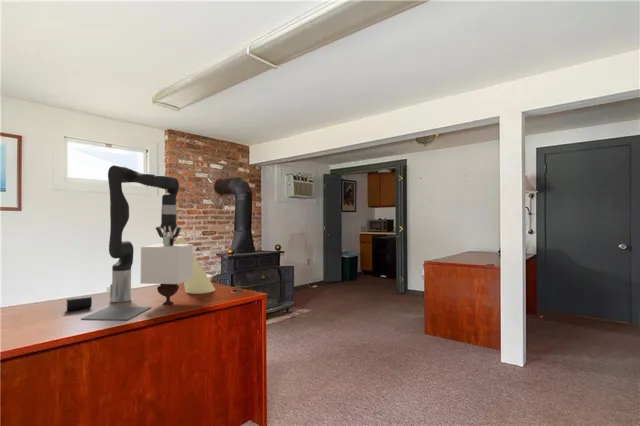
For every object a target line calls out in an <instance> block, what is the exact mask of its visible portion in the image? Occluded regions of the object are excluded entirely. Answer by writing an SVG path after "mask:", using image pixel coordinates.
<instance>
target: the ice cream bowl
mask: <svg viewBox="0 0 640 426" xmlns="http://www.w3.org/2000/svg"><path fill="white" fill-rule="evenodd" d="M179 288H180V285H179V284H159V286H157V292H158V293H159V294H160V295H161V296H163V297H165V298H166V300H165V301H164V302H162V306H172V305H174V302H173V301H171V297H172V296H174V295H175V294H176V293H177V292H178V291H179Z"/></svg>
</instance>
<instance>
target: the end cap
mask: <svg viewBox="0 0 640 426" xmlns="http://www.w3.org/2000/svg"><path fill="white" fill-rule="evenodd" d="M92 301H93V300H92V296H91V295H82V296H78V297H68V298H67V299H66V311H67V312H68V313H71V312H77V311H85V310H90V309H91V308H92V303H93V302H92Z"/></svg>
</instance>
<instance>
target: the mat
mask: <svg viewBox="0 0 640 426" xmlns="http://www.w3.org/2000/svg"><path fill="white" fill-rule="evenodd" d="M151 308H152V306H115V305H113V306H112V305H110V306H107V307H105V308H103V309H99V310H98V311H96V312H95V311H94V312H93V313H91V314H89V315H86V316H84V317H81V318H80V321H123V322H125V321H129V320H131V319H133V318H135V317H137V316H139V315H141V314H143V313H145V312H146V311H148V310H150V309H151Z"/></svg>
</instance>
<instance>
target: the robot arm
mask: <svg viewBox="0 0 640 426" xmlns="http://www.w3.org/2000/svg"><path fill="white" fill-rule="evenodd" d="M107 170H108V172H107V179H108V187H109V205H110V206H109V207H110V208H109V211H110V212H109V215H110V216H109V219H110V226H109V227H110V230H109V232H110V233H109V243H108V252H109V256H110V257H111V258H112V259H118V261H117V262H115V263H114V264H112V266H111V267H112V269H111V274H112V275H111V278H112V279H111V283H110V287H109V289H110V290H109V291H110V293H109V294H110V295H109V299H110V300H109V301H110V302H111V303H125V302H129V301H131V299H132V265H133V263H134V246H133V243H132V242H131V241H129V240H123V233H124V232H123V231H124V229H125V227H126V225H127V223H128V221H129V219H130V206H129V201H127V198H126V197H125V194H124V192H123V189H122V188H123V187H122V184H123V183H124V184H126V183H133V184H134V183H137V184H141V185H143V186H148V187H153V188H158V189H163V190H166V193H165V194H163V195H162V198H161V214H160V215H161V218H160V220H161V223H160V226H156V227H155V230H156V232H157V235H158V236H159V237H160V238H162V240H163V241H162V242H163V243H162V244H164V236H168V234H169V236H170V238H171V239H170V246H172V245H173V244H175V239H177V237H179V234H180V233H181V231H182V227H181V226H178V224H177V213H178V212H177V196H178V193H179V188H180V182H179V180H178V178H177V177H172V176H167V175H161V174H156V173H151V172H140V171H137V170H134V169H131V168H129V167H127V166H122V165H116V164H115V165H111V166H110V167H109V168H108V169H107ZM162 230H163V231H162ZM175 230H176V231H175Z"/></svg>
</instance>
